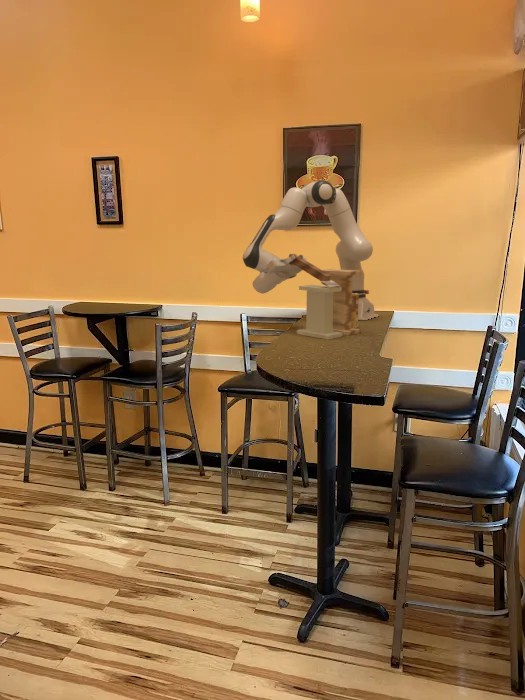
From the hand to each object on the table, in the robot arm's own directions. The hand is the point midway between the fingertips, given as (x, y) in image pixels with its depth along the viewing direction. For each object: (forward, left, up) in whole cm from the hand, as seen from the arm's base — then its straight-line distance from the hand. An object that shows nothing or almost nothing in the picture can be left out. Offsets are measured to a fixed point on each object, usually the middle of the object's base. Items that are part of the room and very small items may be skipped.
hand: (298, 256), depth 222 cm
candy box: (-23, +8, -32) cm, 40 cm away
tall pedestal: (-12, +12, -32) cm, 36 cm away
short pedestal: (0, +12, -32) cm, 34 cm away
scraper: (0, +8, -7) cm, 10 cm away
